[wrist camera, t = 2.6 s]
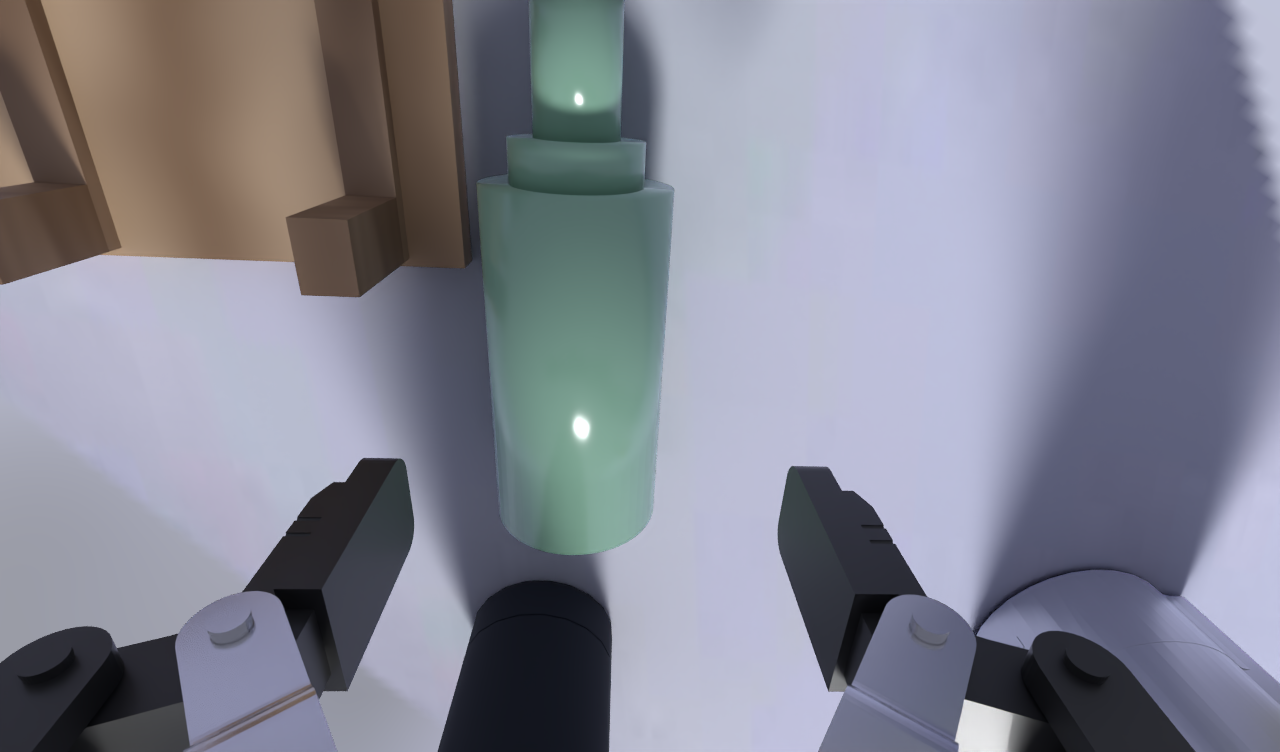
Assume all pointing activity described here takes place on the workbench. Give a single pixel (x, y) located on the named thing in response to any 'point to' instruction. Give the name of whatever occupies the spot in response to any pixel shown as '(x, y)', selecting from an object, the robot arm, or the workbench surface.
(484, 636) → the wine bottle
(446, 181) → the u rest
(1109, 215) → the workbench surface
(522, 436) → the green bottle
